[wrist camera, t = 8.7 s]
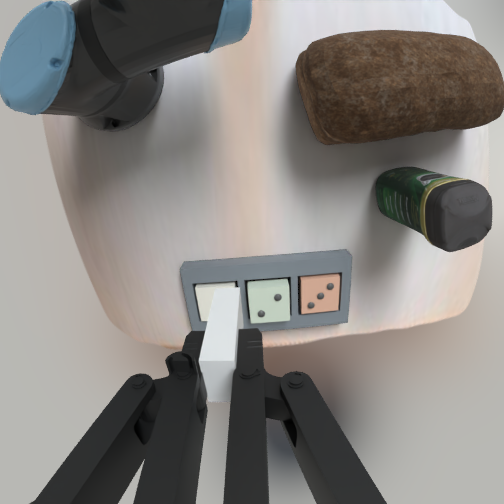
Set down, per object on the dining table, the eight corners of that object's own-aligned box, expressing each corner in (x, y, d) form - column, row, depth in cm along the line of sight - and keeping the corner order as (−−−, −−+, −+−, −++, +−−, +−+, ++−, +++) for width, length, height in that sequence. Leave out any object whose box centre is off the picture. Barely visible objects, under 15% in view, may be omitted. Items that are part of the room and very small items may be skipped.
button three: (299, 306, 48) (301, 314, 45) (298, 273, 46) (301, 280, 43) (334, 302, 48) (338, 310, 45) (335, 269, 46) (340, 276, 43)
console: (196, 324, 51) (193, 334, 48) (184, 261, 46) (179, 269, 44) (343, 313, 50) (347, 322, 47) (346, 249, 46) (352, 256, 43)
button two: (251, 314, 47) (251, 324, 44) (247, 281, 45) (247, 289, 42) (288, 312, 47) (290, 321, 44) (287, 278, 45) (289, 286, 42)
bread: (283, 60, 36) (299, 17, 21) (450, 49, 33) (506, 31, 18) (311, 151, 41) (342, 154, 26) (470, 125, 38) (532, 128, 23)
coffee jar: (377, 221, 44) (440, 265, 27) (370, 172, 41) (437, 192, 24) (426, 209, 43) (498, 244, 26) (420, 163, 40) (497, 179, 23)
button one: (203, 313, 48) (201, 321, 46) (197, 281, 46) (194, 288, 44) (239, 311, 48) (238, 320, 46) (235, 278, 46) (234, 286, 44)
